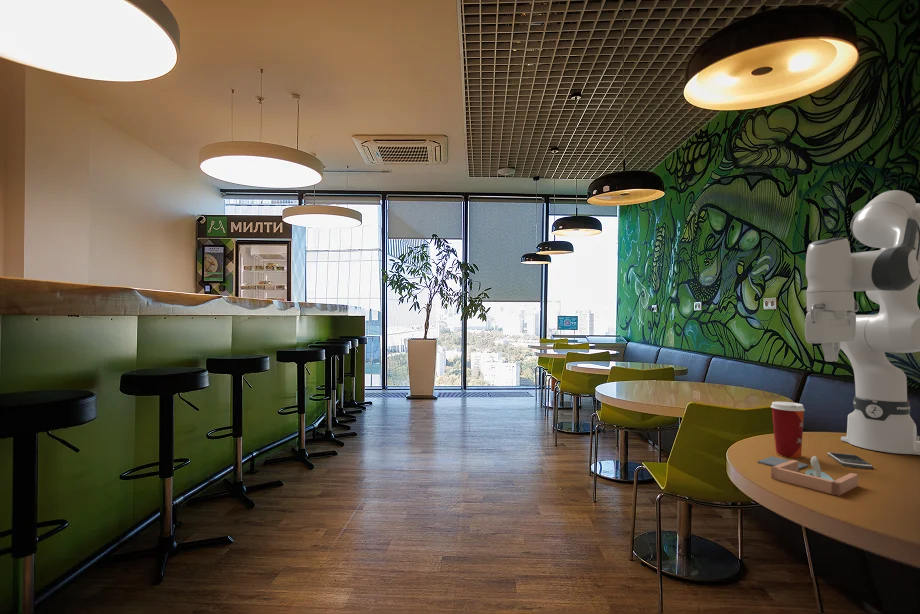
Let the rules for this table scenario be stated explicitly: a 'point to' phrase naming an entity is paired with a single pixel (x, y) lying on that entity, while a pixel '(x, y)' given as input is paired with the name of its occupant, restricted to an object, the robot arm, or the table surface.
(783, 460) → the gray tile
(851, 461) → the cell phone
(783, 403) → the paper cup
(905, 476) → the table surface
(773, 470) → the pink u-shaped bracket
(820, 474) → the pacifier
